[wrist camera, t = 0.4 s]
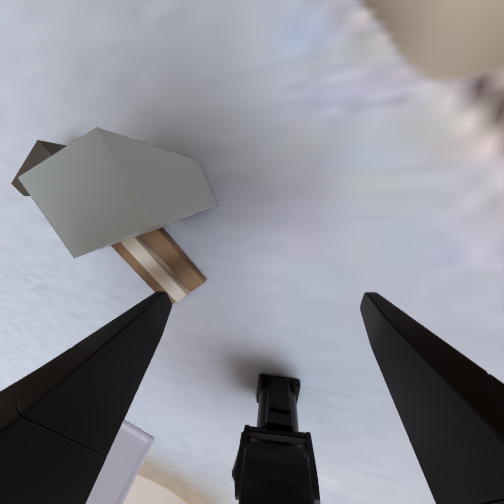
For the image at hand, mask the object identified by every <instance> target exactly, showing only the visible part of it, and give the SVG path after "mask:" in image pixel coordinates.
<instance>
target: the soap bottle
mask: <svg viewBox="0 0 504 504" xmlns="http://www.w3.org/2000/svg"><path fill="white" fill-rule="evenodd" d="M152 443H153V437H151V436H150V435H148V434H146V433H145V432H143V431H141V430H140V429H138V428H136V427H135V426H133V425H132V424H130V423H128V422H127V421H125V420H124V421H123V423H122V425H121V427H120V429H119V432H118V434H117V436H116V438H115V440H114V442H113V445H112V447H111V449H110V451H109V453H108V455H107V458H106V460H105V463H104V465H103V467H102V469H101V471H100V473H99V476H98V478H97V480H96V482H95V484H94V487H93V489H92V491H91V493H90V495H89V498H88V500H87V502H86V504H123V502H124V500H125V498H126V496H127V494H128V492H129V490H130V488H131V486H132V484H133V482H134V480H135V478H136V476H137V474H138V472H139V470H140V468H141V466H142V464H143V462H144V460H145V457H146V455H147V453H148V451H149V449H150V447H151V445H152Z"/></svg>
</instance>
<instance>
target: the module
mask: <svg viewBox="0 0 504 504" xmlns="http://www.w3.org/2000/svg"><path fill="white" fill-rule="evenodd" d="M18 179H19V180H20V182H21V183H22V184H23V186H24V187H25V189H26V190H27V192H28V193H29V195H30V196H31V197H32V199H33V200H34V202H35V203H36V205H37V206H38V207H39V209H40V210H41V212H42V213H43V215H44V216H45V217H46V219H47V220H48V222H49V223H50V225H51V226H52V227H53V229H54V230H55V232H56V233H57V235H58V236H59V237H60V239H61V240H62V242H63V243H64V245H65V246H66V247H67V249H68V250H69V252H70V253H71V255H72V256H73V258H76V257H79V256H82V255H85V254H87V253H90V252H93V251H96V250H99V249H102V248H104V247H107V246H110V245H113V244H116V243H119V242H122V241H124V240H127V239H130V238H133V237H136V236H139V235H141V234H144V233H147V232H150V231H153V230H156V229H159V228H161V227H164V226H167V225H170V224H173V223H176V222H178V221H181V220H182V219H185V218H187V217H190V216H192V215H194V214H197V213H199V212H202V211H204V210H207V209H210V208H213V207H215V206H218V204H217V201H216V199H215V197H214V194H213V192H212V189H211V187H210V185H209V182H208V180H207V178H206V175H205V173H204V170H203V168H202V166H201V163H200V161H199V160H195V159H192V158H189V157H186V156H183V155H180V154H177V153H174V152H171V151H168V150H165V149H162V148H159V147H155V146H152V145H149V144H146V143H143V142H140V141H137V140H134V139H131V138H128V137H125V136H122V135H119V134H116V133H112V132H109V131H106V130H103V129H100V128H97V127H96V128H95V129H93V130H92V131H90V132H88V133H87V134H85V135H84V136H82V137H81V138H79V139H77V140H76V141H74V142H73V143H71V144H70V145H68V146H66V147H65V148H63V149H62V150H60V151H58V152H57V153H55V154H54V155H52V156H51V157H49V158H47V159H46V160H44V161H43V162H41V163H40V164H38V165H36V166H35V167H33V168H32V169H30V170H28V171H27V172H25V173H24V174H22V175H21V176H19V177H18Z"/></svg>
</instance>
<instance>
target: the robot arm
mask: <svg viewBox="0 0 504 504" xmlns="http://www.w3.org/2000/svg"><path fill="white" fill-rule="evenodd" d="M171 308H172V302H171V300H170V298H169V295H168V293H167V292H166V291H157V292H155V293H154V294H152V295H151V296H149V297H147V298H146V299H144V300H143V301H141V302H140V303H138V304H137V305H135V306H134V307H132V308H131V309H129V310H128V311H126V312H125V313H123V314H122V315H120V316H118V317H117V318H115V319H114V320H112V321H111V322H109V323H108V324H106V325H105V326H103V327H102V328H100V329H99V330H97V331H96V332H94V333H93V334H91V335H90V336H88V337H86V338H85V339H83V340H82V341H80V342H79V343H77V344H76V345H74V346H73V347H72V348H70V349H68V350H67V351H65V352H64V353H62V354H60V355H59V356H57V357H56V358H54V359H53V360H51V361H50V362H48V363H46V364H45V365H43V366H42V367H40V368H38V369H37V370H35V371H34V372H32V373H30V374H29V375H27V376H25V377H24V378H22V379H20V380H19V381H17V382H15V383H14V384H12V385H10V386H9V387H7V388H5V389H4V390H2V391H0V504H86V502H87V500H88V498H89V495H90V493H91V491H92V489H93V487H94V484H95V482H96V480H97V478H98V476H99V473H100V471H101V469H102V467H103V465H104V463H105V460H106V458H107V455H108V453H109V451H110V449H111V447H112V445H113V442H114V440H115V438H116V436H117V434H118V432H119V429H120V427H121V425H122V423H123V421H124V418H125V416H126V414H127V412H128V410H129V407H130V405H131V403H132V401H133V399H134V396H135V394H136V392H137V390H138V388H139V385H140V383H141V381H142V379H143V377H144V374H145V372H146V370H147V368H148V366H149V364H150V361H151V359H152V357H153V355H154V353H155V350H156V348H157V346H158V344H159V342H160V339H161V337H162V334H163V332H164V329H165V326H166V323H167V320H168V317H169V314H170V311H171ZM360 310H361V314H362V318H363V321H364V324H365V328H366V331H367V335H368V338H369V341H370V345H371V348H372V350H373V353H374V355H375V358H376V360H377V363H378V365H379V367H380V370H381V372H382V375H383V377H384V379H385V382H386V384H387V387H388V389H389V391H390V394H391V396H392V399H393V401H394V404H395V406H396V408H397V411H398V413H399V416H400V418H401V420H402V423H403V425H404V428H405V430H406V432H407V435H408V437H409V440H410V442H411V445H412V447H413V449H414V452H415V454H416V457H417V459H418V461H419V464H420V466H421V469H422V471H423V473H424V476H425V478H426V481H427V483H428V486H429V488H430V490H431V493H432V495H433V498H434V500H435V502H436V504H504V383H502V382H501V381H499V380H498V379H497V378H495V377H494V376H492V375H491V374H488V373H487V371H485V370H484V369H482V368H481V367H480V366H478V365H477V364H476V363H474V362H473V361H471V360H470V359H469V358H467V357H466V356H464V355H463V354H462V353H460V352H459V351H457V350H456V349H455V348H453V347H452V346H450V345H449V344H448V343H446V342H445V341H443V340H442V339H441V338H439V337H438V336H436V335H435V334H434V333H432V332H431V331H430V330H428V329H427V328H425V327H424V326H423V325H421V324H420V323H418V322H417V321H416V320H414V319H413V318H411V317H410V316H409V315H407V314H406V313H404V312H403V311H402V310H400V309H399V308H397V307H396V306H395V305H393V304H392V303H390V302H389V301H388V300H386V299H385V298H384V297H382V296H381V295H379V294H378V293H376V292H366V293H364V295H363V299H362V302H361V305H360ZM299 390H300V381H299V380H294V379H288V378H282V377H276V376H270V375H264V374H260V375H259V380H258V391H257V403H259V407H258V418H257V427H253V426H249V425H245V428H244V432H242V433H241V439H240V446H239V450H238V454H237V457H236V460H235V463H234V467H233V470H232V477H233V479H234V482H235V499H236V500H239V504H320V494H319V485H318V477H317V470H316V464H315V458H314V452H313V446H312V440H311V434H310V432H306V433H304V432H299V429H298V417H297V405H296V404H297V400H298V395H299Z"/></svg>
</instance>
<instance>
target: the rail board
mask: <svg viewBox="0 0 504 504" xmlns="http://www.w3.org/2000/svg"><path fill="white" fill-rule="evenodd" d="M65 147H66V145H61V144H55V143H50V142H45V141H40V140H37V142H36V144H35V145H34V147H33V148H32V150H31V152H30V153H29V155H28V157H27V158H26V160H25V162H24V163H23V165H22V167H21V168H20V170H19V172H18V173H17V175H16V177H15V178H14V180H13V181H12V183H11V184H12V185H13V186H14V187H15V188H16V189H17V190H18V191H19V192H20V193H21V194H22V195H23V196H30V195H29V193H28V192H27V190H26V189H25V187H24V186H23V184H22V183H21V182H20V180H19V179H18V177H19V176H21V175H22V174H24V173H25V172H27V171H28V170H30V169H32V168H33V167H35V166H36V165H38V164H40V163H41V162H43V161H44V160H46V159H47V158H49V157H51V156H52V155H54V154H55V153H57V152H58V151H60V150H62V149H63V148H65ZM111 246H112V247H113V248H114V249H115V250H116V251H117V252H118V253H119V255H120V256H121V257H122V258H123V259H124V260H125V261H126V262H127V263H128V264H129V265H130V266H131V267H132V268H133V269H134V270H135V271H136V272H137V274H138V275H139V276H140V277H141V278H142V279H143V280H144V281H145V282H146V283H147V284H148V285H149V286H150V287H151V288H152V289H153V290H154V291H155V292H157V291H166V292H167V293H168V295H169V298H170V300H171V302H172V304H173V303H174V302H179V301H180V300H182V299H183V298H185V297H186V296H187V295H188V294H189V293H190V292H191V291H192V290H194V289H195V288H197V287H198V286H200V285H201V284H203V283H204V282H205V281H206V278H205V277H204V275H203V274H202V273H201V272H200V271H199V270H198V268H197V267H196V266H195V265H194V264H193V263H192V261H191V260H190V259H189V258H188V257H187V256H186V254H185V253H184V252H183V251H182V250H181V249H180V247H179V246H178V245H177V244H176V243H175V242H174V241H173V239H172V238H171V237H170V236H169V235H168V234H167V232H166V231H165V230H164V229H163V228H162V227H161V228H159V229H156V230H153V231H150V232H147V233H144V234H141V235H139V236H136V237H133V238H130V239H127V240H124V241H122V242H119V243H116V244H113V245H111Z"/></svg>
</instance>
